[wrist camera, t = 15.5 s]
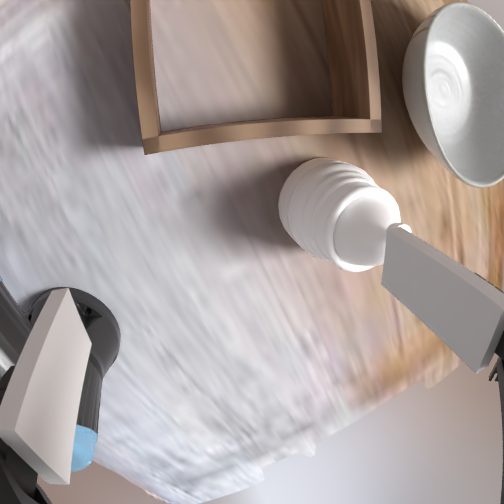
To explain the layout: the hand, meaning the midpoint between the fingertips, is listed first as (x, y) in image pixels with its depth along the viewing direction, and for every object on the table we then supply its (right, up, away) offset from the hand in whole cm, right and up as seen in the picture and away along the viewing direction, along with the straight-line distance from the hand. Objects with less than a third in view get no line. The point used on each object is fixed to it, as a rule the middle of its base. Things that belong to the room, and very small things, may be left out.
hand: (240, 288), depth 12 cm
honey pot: (+10, +8, +32) cm, 34 cm away
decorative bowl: (+29, +27, +28) cm, 49 cm away
